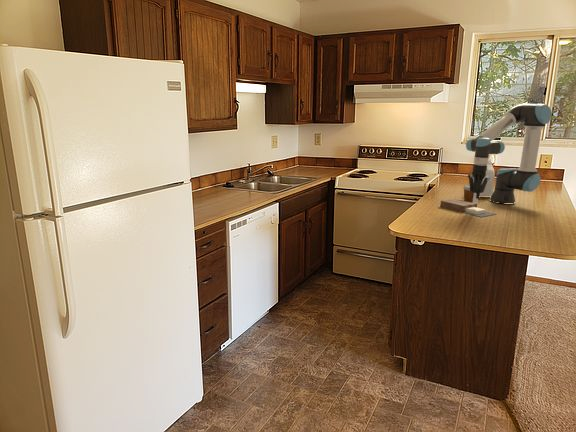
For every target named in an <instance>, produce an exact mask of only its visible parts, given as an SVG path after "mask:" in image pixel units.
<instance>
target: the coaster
mask: <svg viewBox="0 0 576 432" xmlns="http://www.w3.org/2000/svg"><path fill="white" fill-rule="evenodd" d="M465 211H466V212H470V213H474V214H481V213H485V211H486V208H482V207H469V208H466V209H465Z"/></svg>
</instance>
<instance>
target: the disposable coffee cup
mask: <svg viewBox="0 0 576 432" xmlns="http://www.w3.org/2000/svg"><path fill="white" fill-rule="evenodd" d="M472 195H473V192H472V191H470V185H469V184H467V185H464V187H463V201H467V202H472V203H473V198H472Z"/></svg>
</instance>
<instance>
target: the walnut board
mask: <svg viewBox="0 0 576 432" xmlns="http://www.w3.org/2000/svg"><path fill="white" fill-rule="evenodd" d="M439 205H440V206H439V207H440V208H442V209H448V210H451V211H455V212H459V213H463V212H466V211H465V209H466V208H469V207H477V206H478V203H477V204H472V202H467V201H464V199H463V200H461V199H459V198H450V199H444V200H440V204H439ZM477 208H478V207H477Z"/></svg>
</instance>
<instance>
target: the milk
mask: <svg viewBox="0 0 576 432" xmlns="http://www.w3.org/2000/svg"><path fill="white" fill-rule="evenodd" d="M495 174H496V173H495V168H494V166H493V163H492V161H491V160H490V159H488V164H487V171H486V176H487V177H488V178H490V179H489V180H488V181H487V184H486V187H485V189H484V192H483V193H480V196H492V194H493V192H494V188H495V187H494V186H495V178H496V177H495ZM473 180H474V178H473ZM483 181H484V179H483ZM482 183H483V182H482Z"/></svg>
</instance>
